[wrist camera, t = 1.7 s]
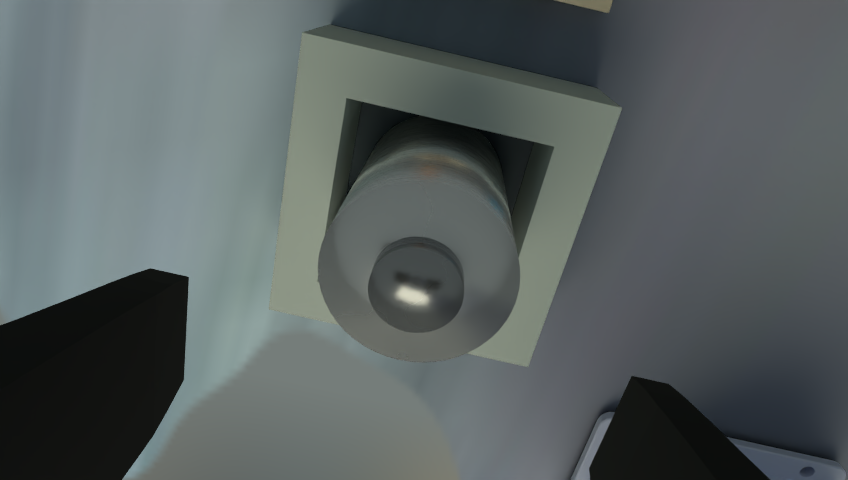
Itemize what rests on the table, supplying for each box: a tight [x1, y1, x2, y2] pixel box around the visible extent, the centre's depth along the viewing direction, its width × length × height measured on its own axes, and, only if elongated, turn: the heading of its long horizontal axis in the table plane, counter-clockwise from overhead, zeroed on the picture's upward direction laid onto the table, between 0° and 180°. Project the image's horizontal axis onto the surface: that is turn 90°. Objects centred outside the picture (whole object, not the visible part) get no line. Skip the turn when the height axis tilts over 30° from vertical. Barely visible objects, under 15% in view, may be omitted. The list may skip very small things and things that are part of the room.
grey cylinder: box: [318, 116, 520, 362], centre depth 15 cm, size 4×4×7 cm
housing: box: [269, 25, 622, 367], centre depth 17 cm, size 8×8×3 cm
